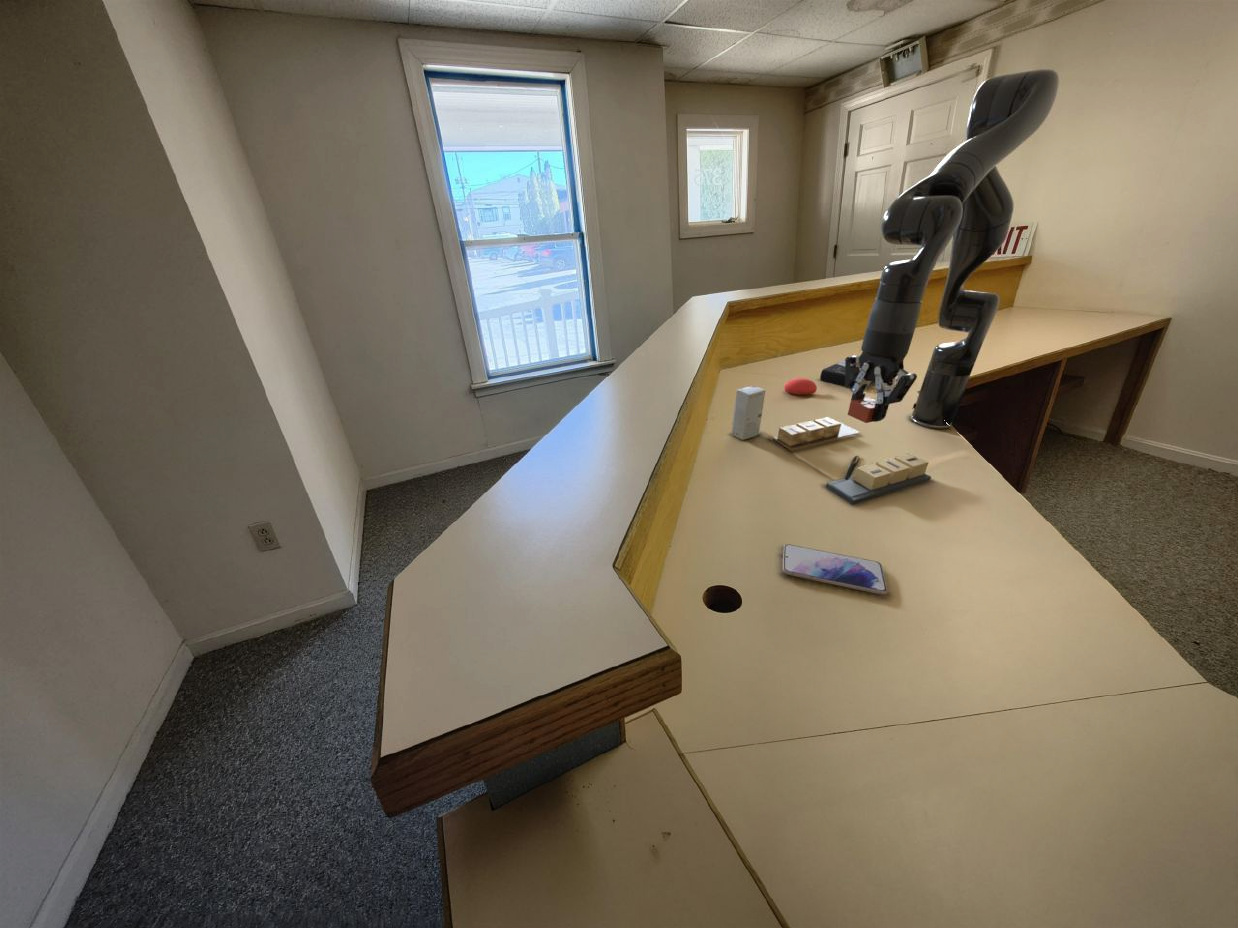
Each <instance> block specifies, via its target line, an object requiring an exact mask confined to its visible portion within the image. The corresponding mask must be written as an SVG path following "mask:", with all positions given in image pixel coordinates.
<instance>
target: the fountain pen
mask: <svg viewBox="0 0 1238 928" xmlns="http://www.w3.org/2000/svg"><path fill="white" fill-rule="evenodd" d="M859 459H860V455H859V454H857V455H855V456H854V457H853V458H852V460H851V462H850V465H849V467H848V469H847V471H846V474H845V477H844V478H845V479H847V480H848V479H849V477H850V476H852V474H853V473H854V470H855V469H856V466H857V464H858V462H859Z"/></svg>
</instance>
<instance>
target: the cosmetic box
mask: <svg viewBox="0 0 1238 928" xmlns="http://www.w3.org/2000/svg"><path fill="white" fill-rule="evenodd" d="M765 396H766V389H764V388H761V387H758V386H755V385H750V386H746V387H742V388H738V389H736V394H735V402H734V410H733V418H732V426H731V435H732V436H733V437H735V438H738V439H740V440H742V441H743V440H747V439H750V438H754V437H756V436H758V435H759V434H760V428H761V423H762V417H763V410H764V409H763V408H764V402H765Z"/></svg>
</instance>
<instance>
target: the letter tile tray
mask: <svg viewBox="0 0 1238 928" xmlns="http://www.w3.org/2000/svg"><path fill="white" fill-rule="evenodd" d="M860 433H861V431H859V430H856V429H854V428H853V427H850V426H848V425H846V424H845V423H842V422H840V421H837V420H835V419H833V418H830V417H828V416H825V417H821V418H816V419H814V420H808V421H802V422H798V423H796V424H794V423H793V424H790V425H785V426H780V427H779V428H778V433H777V435H774V436H772V438H771V441H772V442H774V443H775V444H777V445H778V446H780V447H782V448H783V449H785V450H786V451H788V452H789V453H793V450H792V449H798V448H801V447H805V446H810V445H814V444H818V443H822V442H826V441H830V440H834V439H839V438H843V437H848V436H852V435H856V434H860ZM779 442H780V443H779ZM781 443H782V444H781ZM789 448H790V449H789Z"/></svg>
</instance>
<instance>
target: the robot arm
mask: <svg viewBox="0 0 1238 928" xmlns="http://www.w3.org/2000/svg"><path fill="white" fill-rule="evenodd" d="M1059 83H1060V78H1059V74H1058V72H1057V71H1055V70H1054V69H1047V68H1042V69H1040V68H1039V69H1033V70H1028V71H1022V72H1021V71H1020V72H1014V73H1007V74H1002V75H997V76H993V77H989V78H987V79H986V80H985V81H983V82H982V83H981V84H980V85H979V86H978V88H977V90H976V93H975V95H974V96H973V99H972V101H971V106H970V109H969V115H968V118H967V127H966V137H965V141H964V142H963V143H961V144H959V145H958V146H957V147H956V148H954V149H953V150H951V151H950V152H949V153H948V154H947V155H946V156H945V157H944V158H943V159H942V160H941V161H940V163H939V164H938V165H937V166H936V167H935V169H934V170H933V171H932V172H931V174H930V175H928V176H927V177H925V178H923V179H921V180H920V181H918V182H917V183H916V184H915V185H913V186H911V187H910V188H908V189H907V190H905V191H904V192H902V193H901V194H900V195H899V196H897V198H895V199H894V200H893V202H892V203H891V204H890V205H889V207H888V208H887V210H886V211H885V213H884V216H883V218H882V221H881V235H882V237H883V239H884V241H886V242H887V243H889V244H891V245H896V246H917V247H921V248H920V250H919V251H918V252H917V254H916V255H915V256H914V257H913V258H909V259H904V260H897V261H892V262H889V263H887V264H886V265H885V266H884V268H883V269H882V273H881V276H880V279H879V283H878V287H877V292H876V295H875V299H874V301H873V304H872V307H871V310H870V313H869V316H868V319H867V323H866V327H865V331H864V335H863V339H862V343H861V347H860V349H861V351H862V352H861V354H860V355H850V356H846V357H845V359H844V360H845V386H844V387H845V388H847V389H848V388H849V389H850V390H851V394H852V395H851V398H850V402H849V404H850V403H851V401H852V400H857V399H862V398H866V393H865V392H866V391H867V389H868V387H869V385H870V384H872V383H873V384H875V385H874V386H875V387H874V389H875V392H876V393H877V394H876V400H877V403H876V404H875V409H874V412H873V416H872V421H874V423H877V422H881V421H883V420H885V418H886V416H887V413H888V409H889V406H890V405H892V404H897V403H900V402H902V401H903V399H904V398H905V397H906V395H907V393H908V392H909V391H910V389H911V387H912V386H913V385H914V383H915V381H916V380H917V379H918V374H916V373H915V372H914V373H911V372H908V371H907V370H906V369H905V366H904V365H905V364H904V360H905V358H906V357H907V355H908V354H909V350H910V348H911V343H912V342H913V341H912V340H913V337H914V334H915V332H916V328H917V325H918V322H919V319H920V313H921V307H922V303H923V299H924V296H925V293H926V289H927V286H928V283H929V281H930V277H931V275H932V273H933V271H934V269H935V266H937V263H938V261H939V259H940V257H941V255H942V254H943V252H944V251H945V249H946V248H947V246H948V244H949V243H950V241H951V240H952V242H951V250H950V259H949V265H948V269H947V276H946V280H945V285H944V288H943V292H942V296H941V301H940V304H939V308H938V312H937V313H938V314H937V324H938V327H939V328H941V329H944V330H948V331H954V332H960V333H967V336H966V337H965V338H963V339H960V340H957V341H952V342H944V343H939V344H937V345H936V346H935V347H934V348H933V351H932V353H931V357H930V359H929V363H928V365H927V369H926V372H925V374H924V377H923V380H922V384H921V386H920V389H919V393H918V395H917V399H916V401H915V403H913V405H912V408H911V410H912V413H911V415H910V420H911V421H912V422H913V423H915V424H917V425H919V426H922V427H925V428H930V429H943V430H944V429H948V428H950V426H951V427H952V425H953V423H954V421H955V419H956V416H957V413H958V411H959V408H960V405H961V403H962V400H963V397H964V395H965V392H966V387H967V384H968V382H969V379H970V377H971V374H972V371H973V369H974V367H975V364H976V362H977V359H978V356H979V353H980V351H981V349H982V347H983V344H984V342H985V338H986V336H987V334H988V332H989V330H990V327H991V325H992V324H993V321H994V319H995V317H996V314H997V313H998V310H999V306H1000V302H1001V301H1000V296H999V294H997V293H994V292H988V291H976V290H966V289H965V288H964V287H965V283H966V281H967V280H968V279H969V278H970V277H971V275H973V274H974V272H975V271H977V269H978V268H980V267H981V266H982V265H984V263H985V262H987V261H988V260H989V259H990V258H991V257H992V256H993V255H994V254H995V253H996V252H997V251H998V250H999V249H1000V248H1001V247H1002V245H1004V243H1005V241H1006V239H1007V237H1008V234H1009V230H1010V226H1011V222H1012V217H1013V213H1014V207H1015V203H1014V200H1013V199H1014V198H1013V196H1012V194H1011V191H1010V190H1009V187H1008V185H1007V184H1006V182H1005V180H1004V179H1003V177H1002V175H1001V173H1000V172H999V170H998V167H997V165H998V164H1000V163H1001V162H1002V161H1004V160H1005V159H1006V158H1007V157H1008V156H1010V155H1011V154H1012V153H1013V152H1014V151H1015V150H1017V149H1018V148H1019V147H1020V146H1021V145H1023V144H1024V143H1025V142H1026V141H1027V140H1029V138H1030V137H1032V136H1033V135H1034V134H1035V133H1036V132H1037V131H1038V130H1039V129H1040V128H1041V126H1042V125H1043V124H1044V122H1045V121H1046V119H1047V118H1048V116H1049V114H1050V112H1051V111H1052V109H1053V105H1054V103H1055V101H1056V99H1057V98H1056V97H1057V95H1058V89H1059ZM860 368H861V371H860ZM859 372H860V373H859ZM852 375H853V381H852ZM896 377H897V379H896ZM944 420H945V421H944ZM946 422H947V423H948V424H949V425H950V426H949V425H947V424H946Z"/></svg>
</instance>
